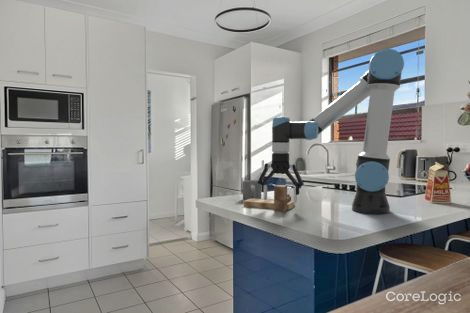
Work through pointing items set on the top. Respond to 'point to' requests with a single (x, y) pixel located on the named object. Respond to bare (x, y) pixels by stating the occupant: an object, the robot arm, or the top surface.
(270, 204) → the oak board
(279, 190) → the block
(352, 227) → the top surface
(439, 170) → the milk carton
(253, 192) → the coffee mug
